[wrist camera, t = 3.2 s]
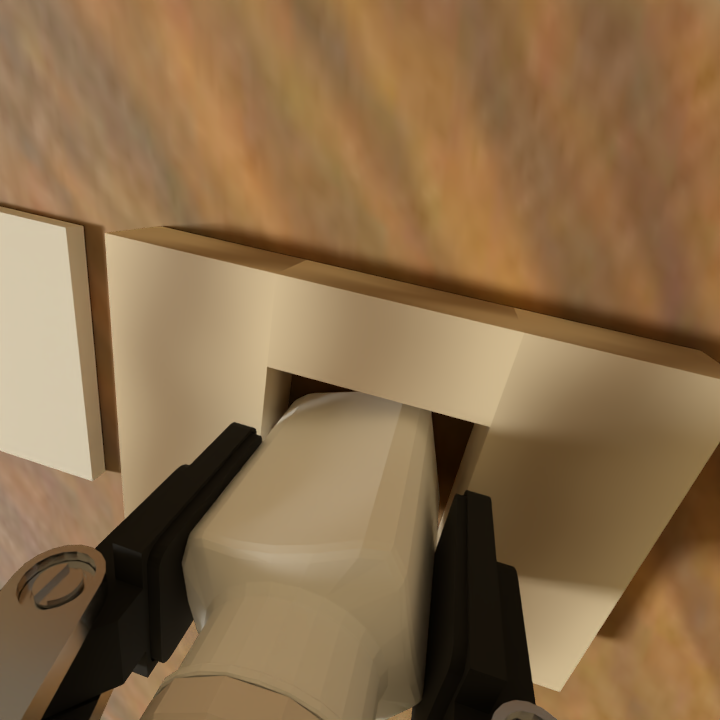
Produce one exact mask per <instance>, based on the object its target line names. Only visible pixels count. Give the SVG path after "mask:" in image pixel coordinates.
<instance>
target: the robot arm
mask: <svg viewBox="0 0 720 720" xmlns="http://www.w3.org/2000/svg"><path fill="white" fill-rule="evenodd" d="M261 443H262V437H261V436H260V435H257V431H256V429H255V428H254V427H250V426H247V425H243V424H240V423H236V422H233V423H231V424H230V425H229V426H228V427H227V428H226V429H225V430H224V431H223V432H222V433H221V434H220V435H219V436H218V437H217V438H216V439H215V440H214V441H213V442H212V443H211V444H210V445H209V446H208V447H207V448H206V449H205V450H204V451H203V452H202V453H201V454H200V455H199V456H198V457H197V458H196V459H195V460H194V461H193V462H192V463H191V464H190V465H187V464H184V465H181V466H180V467H178V468H177V469H176V470H175V471H174V472H173V473H172V474H171V475H170V476H169V477H168V478H167V479H166V480H165V481H164V482H163V483H162V484H161V485H159V486H158V487H157V488H156V489H155V490H154V491H153V492H152V493H151V494H150V495H149V496H148V497H147V498H146V499H145V500H144V501H143V502H142V503H141V504H140V505H139V506H138V507H137V508H136V509H135V510H134V511H133V512H132V513H131V514H130V515H129V516H128V517H127V518H126V519H125V520H124V521H123V522H122V523H121V524H120V525H119V526H117V527H116V528H115V529H114V530H113V531H112V532H111V533H110V534H109V535H108V536H107V537H106V538H105V539H104V540H103V541H102V542H101V543H100V544H99V545H98V546H97V547H96V548H95V549H94V548H93V547H89V546H84V545H66V546H62V547H57V548H53V549H51V550H48V551H46V552H44V553H41V554H39V555H37V556H36V557H34V558H33V559H31V560H30V561H28V562H26V563H25V564H24V565H23V566H22V567H21V568H20V569H19V570H18V571H17V572H16V573H15V574H14V575H13V576H12V577H11V578H10V579H9V581H8V582H7V583H6V584H5V586H4V587H3V588H2V589H1V590H0V720H100V718H101V716H102V714H103V711H104V709H105V707H106V705H107V702H108V700H109V698H110V696H111V693H112V691H113V688H116V687H118V686H120V685H122V684H124V683H125V681H126V680H127V678H128V677H129V675H130V674H131V672H135V673H137V674H140V675H142V676H145V677H147V678H148V677H149V675H150V673H151V672H152V670H153V669H154V667H155V666H156V664H157V663H158V661H159V662H162V663H165V662H166V661H167V660H168V659H169V658H170V656H171V655H172V653H173V652H174V650H175V649H176V647H177V645H178V644H179V642H180V641H181V639H182V638H183V636H184V634H185V633H186V631H187V630H188V628H189V626H190V625H191V623H192V622H193V620H194V619H193V616H192V612H191V609H190V606H189V603H188V598H187V592H186V586H185V580H184V574H183V568H182V559H183V555H184V552H185V548H186V544H187V540H188V537H189V534H190V532H191V531H192V530H193V529H194V527H195V526H196V525H197V524H198V522H199V521H200V520H201V519H202V517H203V516H204V515H205V514H206V512H207V511H208V510H209V508H210V507H211V506H212V505H213V503H214V502H215V501H216V500H217V498H218V497H219V496H220V495H221V493H222V492H223V491H224V490H225V488H226V487H227V486H228V485H229V483H230V482H231V481H232V480H233V478H234V477H235V476H236V475H237V473H238V472H239V471H240V469H241V468H242V467H243V466H244V464H245V463H246V462H247V461H248V459H249V458H250V457H251V456H252V454H253V453H254V452H255V451H256V449H257V448H258V447H259V446H260V444H261ZM411 720H557V719H556V718H554V717H553V716H552V715H551V714H549V713H548V712H547V711H545V710H544V709H543V708H541V707H539V706H537V705H536V704H535V697H534V690H533V682H532V675H531V668H530V661H529V653H528V646H527V639H526V632H525V624H524V617H523V610H522V603H521V595H520V588H519V581H518V575H517V571H516V569H515V567H513V566H510V565H507V564H504V563H501V562H497V559H496V548H495V536H494V524H493V513H492V501H491V498H490V497H489V496H486V495H482V494H479V493H476V492H472V491H469V490H466V491H465V492H464V495H460V494H457V493H456V494H455V496H454V499H453V501H452V504H451V507H450V510H449V513H448V516H447V519H446V521H445V524H444V527H443V530H442V533H441V536H440V539H439V542H438V544H437V547H436V550H435V554H434V566H433V578H432V591H431V603H430V616H429V628H428V641H427V653H426V665H425V678H424V690H423V695H422V700H421V701H420V702H419V703H418V704H416V705H415V706H413V708H412V718H411Z"/></svg>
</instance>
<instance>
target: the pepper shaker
mask: <svg viewBox="0 0 720 720" xmlns="http://www.w3.org/2000/svg"><path fill="white" fill-rule="evenodd" d="M439 499H440V493H439V483H438V473H437V463H436V453H435V443H434V433H433V423H432V414H431V411H429V410H425V409H422V408H418V407H414V406H410V405H407V404H403V403H399V402H396V401H392V400H388V399H385V398H381V397H377V396H373V395H370V394H366V393H362V392H359V391H354V392H329V393H311V394H307V395H305V396H303V397H301V398H299V399H297V400H295V401H294V402H293V404H292V405H291V406H290V407H289V409H288V410H287V411H286V413H285V414H284V415H283V416H282V418H281V419H280V420H279V421H278V423H277V424H276V425H275V426H274V428H273V429H272V430H271V431H270V433H269V434H268V435H267V436H266V438H265V439H264V440H263V441H262V443H261V444H260V446H259V447H258V448H257V449H256V451H255V452H254V453H253V454H252V456H251V457H250V458H249V459H248V461H247V462H246V463H245V464H244V466H243V467H242V468H241V469H240V471H239V472H238V473H237V475H236V476H235V477H234V478H233V480H232V481H231V482H230V483H229V485H228V486H227V487H226V488H225V490H224V491H223V492H222V493H221V495H220V496H219V497H218V498H217V500H216V501H215V502H214V503H213V505H212V506H211V507H210V508H209V510H208V511H207V512H206V514H205V515H204V516H203V517H202V519H201V520H200V521H199V522H198V524H197V525H196V526H195V527H194V529H193V530H192V531H191V532H190V534H189V537H188V540H187V544H186V548H185V552H184V555H183V559H182V568H183V574H184V580H185V586H186V592H187V598H188V603H189V606H190V609H191V612H192V616H193V619H194V622H195V625H196V629H197V631H198V633H199V635H198V637H197V639H196V640H195V642H194V644H193V645H192V647H191V649H190V650H189V652H188V654H187V655H186V657H185V659H184V661H183V662H182V664H181V666H180V667H179V669H178V670H177V671H175V672H174V673H172V674H171V675H169V676H167V677H166V678H165V679H164V681H163V682H162V684H161V686H160V687H159V689H158V691H157V692H156V694H155V696H154V697H153V700H152V701H151V702H150V704H149V705H148V707H147V709H146V710H145V712H144V713H143V715H142V717H141V718H140V720H384V719H388V718H390V717H393V716H395V715H397V714H399V713H401V712H403V711H405V710H407V709H409V708H411V707H413V706H415V705H416V704H418V703H419V702H420V701H421V700H422V695H423V690H424V678H425V665H426V653H427V641H428V628H429V616H430V603H431V591H432V578H433V566H434V554H435V550H436V538H437V525H438V512H439Z"/></svg>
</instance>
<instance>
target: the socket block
mask: <svg viewBox="0 0 720 720" xmlns="http://www.w3.org/2000/svg"><path fill="white" fill-rule="evenodd" d="M105 245H106V259H107V274H108V288H109V302H110V316H111V331H112V345H113V359H114V374H115V388H116V402H117V417H118V431H119V445H120V459H121V474H122V488H123V502H124V517H125V519H126V518H127V517H128V516H129V515H130V514H131V513H132V512H133V511H134V510H135V509H136V508H137V507H138V506H139V505H140V504H141V503H142V502H143V501H144V500H145V499H146V498H147V497H148V496H149V495H150V494H151V493H152V492H153V491H154V490H155V489H156V488H157V487H158V486H159V485H161V484H162V483H163V482H164V481H165V480H166V479H167V478H168V477H169V476H170V475H171V474H172V473H173V472H174V471H175V470H176V469H177V468H178V467H180V466H181V465H184V464H187V465H190V464H191V463H192V462H193V461H194V460H195V459H196V458H197V457H198V456H199V455H200V454H201V453H202V452H203V451H204V450H205V449H206V448H207V447H208V446H209V445H210V444H211V443H212V442H213V441H214V440H215V439H216V438H217V437H218V436H219V435H220V434H221V433H222V432H223V431H224V430H225V429H226V428H227V427H228V426H229V425H230V424H231V423H233V422H236V423H240V424H243V425H247V426H250V427H254V428H255V429H256V431H257V435H260V436H261V437H262V441H263V440H264V439H265V438H266V436H267V435H268V434H269V433H270V431H271V430H272V429H273V428H274V426H275V425H276V424H277V423H278V421H279V420H280V419H281V418H282V416H283V415H284V414H285V413H286V411H287V410H288V406H289V398H290V390H291V382H292V374H296V375H300V376H303V377H307V378H311V379H314V380H318V381H322V382H325V383H329V384H333V385H337V386H340V387H344V388H348V389H351V390H355V391H359V392H362V393H366V394H370V395H373V396H377V397H381V398H385V399H388V400H392V401H396V402H399V403H403V404H407V405H410V406H414V407H418V408H422V409H425V410H429V411H433V412H436V413H440V414H444V415H447V416H451V417H455V418H458V419H462V420H466V421H470V422H473V423H474V425H473V428H472V431H471V434H470V437H469V440H468V443H467V446H466V449H465V452H464V455H463V458H462V461H461V463H460V466H459V469H458V472H457V475H456V478H455V481H454V484H453V487H452V490H451V493H450V496H449V498H448V501H447V504H446V507H445V510H444V513H443V516H442V519H441V522H440V525H439V528H438V531H437V538H436V547H437V544H438V542H439V539H440V536H441V533H442V530H443V527H444V524H445V521H446V519H447V516H448V513H449V510H450V507H451V504H452V501H453V499H454V496H455V494H456V493H457V494H460V495H464V492H465V491H466V490H469V491H472V492H476V493H479V494H482V495H486V496H489V497H490V498H491V501H492V513H493V524H494V536H495V548H496V559H497V562H501V563H504V564H507V565H510V566H513V567H515V569H516V571H517V575H518V581H519V588H520V595H521V603H522V610H523V617H524V624H525V632H526V639H527V646H528V653H529V661H530V668H531V675H532V682H533V683H535V684H538V685H541V686H544V687H547V688H550V689H552V690H555V691H558V692H560V691H561V689H562V688H563V686H564V684H565V683H566V681H567V680H568V678H569V677H570V675H571V673H572V672H573V670H574V669H575V667H576V666H577V664H578V663H579V661H580V659H581V658H582V656H583V655H584V653H585V652H586V650H587V649H588V647H589V645H590V644H591V642H592V641H593V639H594V638H595V636H596V634H597V633H598V631H599V630H600V628H601V627H602V625H603V624H604V622H605V620H606V619H607V617H608V616H609V614H610V613H611V611H612V609H613V608H614V606H615V605H616V603H617V602H618V600H619V599H620V597H621V595H622V594H623V592H624V591H625V589H626V588H627V586H628V584H629V583H630V581H631V580H632V578H633V577H634V575H635V574H636V572H637V570H638V569H639V567H640V566H641V564H642V563H643V561H644V559H645V558H646V556H647V555H648V553H649V552H650V550H651V549H652V547H653V545H654V544H655V542H656V541H657V539H658V538H659V536H660V534H661V533H662V531H663V530H664V528H665V527H666V525H667V524H668V522H669V520H670V519H671V517H672V516H673V514H674V513H675V511H676V510H677V508H678V506H679V505H680V503H681V502H682V500H683V499H684V497H685V495H686V494H687V492H688V491H689V489H690V488H691V486H692V485H693V483H694V481H695V480H696V478H697V477H698V475H699V474H700V472H701V470H702V469H703V467H704V466H705V464H706V463H707V461H708V460H709V458H710V456H711V455H712V453H713V452H714V450H715V449H716V447H717V445H718V444H719V442H720V363H718V362H717V361H715V360H714V359H712V358H711V357H709V356H708V355H706V354H705V353H704V352H702V351H700V350H696V349H691V348H687V347H683V346H678V345H674V344H670V343H665V342H661V341H657V340H652V339H648V338H644V337H639V336H635V335H631V334H626V333H622V332H618V331H613V330H609V329H605V328H600V327H596V326H592V325H587V324H583V323H578V322H574V321H570V320H565V319H561V318H557V317H552V316H548V315H544V314H539V313H535V312H531V311H526V310H522V309H518V308H513V307H509V306H505V305H500V304H496V303H492V302H487V301H483V300H479V299H474V298H470V297H466V296H461V295H457V294H453V293H448V292H444V291H440V290H435V289H431V288H427V287H422V286H418V285H414V284H409V283H405V282H401V281H396V280H392V279H388V278H383V277H379V276H375V275H370V274H366V273H362V272H357V271H353V270H349V269H344V268H340V267H336V266H331V265H327V264H323V263H318V262H314V261H310V260H305V259H301V258H297V257H292V256H288V255H284V254H279V253H275V252H271V251H266V250H262V249H258V248H253V247H249V246H245V245H240V244H236V243H232V242H227V241H223V240H218V239H214V238H210V237H205V236H201V235H197V234H192V233H188V232H184V231H179V230H175V229H171V228H166V227H162V226H157V227H149V228H141V229H133V230H125V231H116V232H108V233H105Z"/></svg>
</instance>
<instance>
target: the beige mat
mask: <svg viewBox="0 0 720 720" xmlns="http://www.w3.org/2000/svg"><path fill="white" fill-rule="evenodd" d="M0 451H3V452H6V453H9V454H12V455H15V456H18V457H21V458H24V459H27V460H30V461H33V462H36V463H39V464H42V465H45V466H48V467H51V468H54V469H57V470H60V471H63V472H66V473H69V474H72V475H75V476H78V477H81V478H84V479H87V480H91V481H93V480H95V479H96V478H97V477H99V476H100V475H101V474H102V473H104V472H105V463H104V451H103V440H102V429H101V418H100V407H99V396H98V384H97V373H96V362H95V351H94V340H93V329H92V317H91V306H90V295H89V284H88V273H87V262H86V251H85V239H84V228H83V226H81V225H77V224H73V223H69V222H64V221H60V220H56V219H52V218H48V217H43V216H39V215H35V214H31V213H26V212H22V211H18V210H14V209H10V208H5V207H1V206H0Z"/></svg>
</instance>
